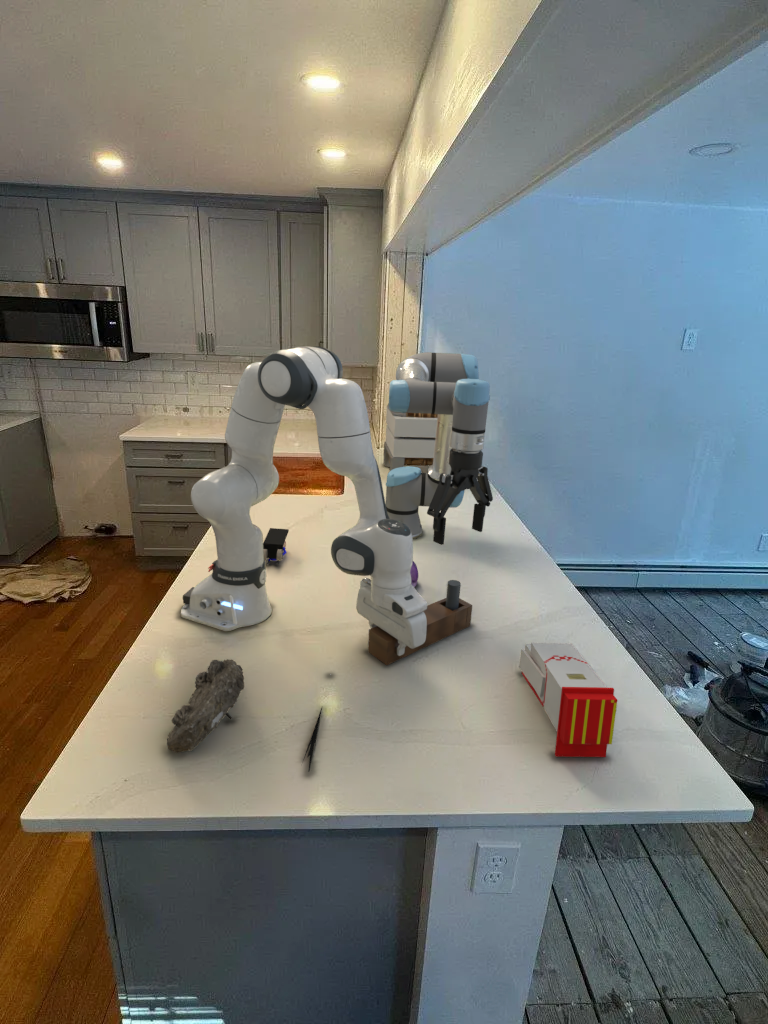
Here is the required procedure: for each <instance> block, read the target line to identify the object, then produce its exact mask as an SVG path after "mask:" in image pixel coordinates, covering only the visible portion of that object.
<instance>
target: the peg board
mask: <svg viewBox="0 0 768 1024" xmlns="http://www.w3.org/2000/svg"><path fill="white" fill-rule="evenodd" d="M445 606H446V597H444V598H442V599H440V600H437V601H435V602H432V603H430V604H427V609H426V610H424V611H423V612H424V613H425V615H426V620H427V630H426V640H425V642H424V643H423V644H422V645H420V646H418V647H416V648H414V649H411V648H410V647H408V646H406V647H405V652H404V654H403V655H401V656H398V655H397V654H396V653H395V647H396V646H398V645H400V644H399V643H398V639H396V638H395V637H393V636H392V635H390V634H388V633H387V632H385V631H384V630H382V629H381V628H379V627H378V626H376V627H374V628H369V629H368V644H367V646H368V647H367V648H368V649H367V652H368V653H369V654H370V655H372V656H373V657H374V658H376V659H377V660H378V661H380V662H381V663H383V664H384V665H385V666H389V665H391V664H393V663H395V662H397V661H399V660H402V659H403V658H405V657H408V656H410V655H412V654H415V653H416V652H418V651H420V650H422V649H425V648H426V647H429V646H431V645H433V644H435V643H437V642H440V641H442V640H444V639H446V638H448V637H451V636H452V635H455V634H456V633H459V632H461V631H462V630H464V629H466V628H467V629H468V628H469V627H471V624H472V623H471V622H472V613H473V604H471V603H470V602H468V601H466V600H464V599H462V598H460V597H459V606H458V609H455V610H453V611H452V610H450V609H448V608H446V607H445Z"/></svg>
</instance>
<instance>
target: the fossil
mask: <svg viewBox="0 0 768 1024" xmlns="http://www.w3.org/2000/svg"><path fill="white" fill-rule="evenodd" d="M243 670H244V669H243V667H242V665H240V664H237V662H236V661H235V660H234V659H232V658H231V659H227V658H226V659H224V660H223V661H222V660H217V659H212V660H211V661H210V663H209V665H208V666H207V671H201V672H199V673H198V674H197V675H196V676H195V680H194V684H195V685H194V687H195V689H194V690H193V693H192V694H191V697H190V698H189V700H188V704H184V705H182V706H181V707H180V709H177V710H176V711H175V713H174V715H173V716H172V718H171V723H172V724H173V727H172V730H171V731H170V732H168V734H167V738H166V741H167V742H166V745H167V749H168V750H169V751H173V752H174V753H176V754H178V753H182V752H188V751H189V752H192V751H193V750H195V748H196V747H197V746H199V744H200V743H201V742H203V741H204V740H205V739H206V738H207V737H208V736H209V735H210V734H211V733H212V732H214V730H215V729H217V727H218V726H219V724H220V722H221V721H222V720H223V719H224V718H225V716H226V717H227V719H229V720H233V717H232V715H230V714H229V710H230V709H231V708H234V706H235V704H236V703H237V702H238V699H239V697H240V695H241V693H242V691H243V690H245V689H244V688H245V675H244V671H243Z"/></svg>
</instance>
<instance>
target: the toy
mask: <svg viewBox="0 0 768 1024" xmlns="http://www.w3.org/2000/svg"><path fill="white" fill-rule="evenodd" d="M518 668H519V670H520V671H521V675H522V677H523V678H524V680H525V681H526V683H527V684H528V686H529V687H530V689H531V691H532V692H533V693H534V696H535V697H536V699H537V700H538V702H539V703H540V705H541V706H542V707H543V711H544V712H545V713H546V715H547V717H548V719H549V721H550V722H551V724H552V726H553V727H554V730H555V732H556V739H555V748H554V749H555V750H554V756H555V757H561V758H562V757H563V758H564V757H567V758H568V757H569V758H570V757H571V758H573V757H574V758H576V757H577V758H606V757H607V749H608V745H613V739H614V738H613V737H614V729H615V724H616V723H615V722H616V714H617V707H618V698H617V697H616V696H615V695H614V694H615V688H614V687H607V685H606V684H605V682H604V681H603V680H602V679H601V678H600V677H599V675H598V673H596V672H595V670H594V669H593V668H592V666H590V664H589V663H588V662H587V660H586V659H585V658H584V657H583V655H582V654H581V653H580V652H579V651H578V649H577V648H576V647H575V646H574V645H573V643H572V642H531V643H525V644H524V648H520V655H519V662H518Z"/></svg>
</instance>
